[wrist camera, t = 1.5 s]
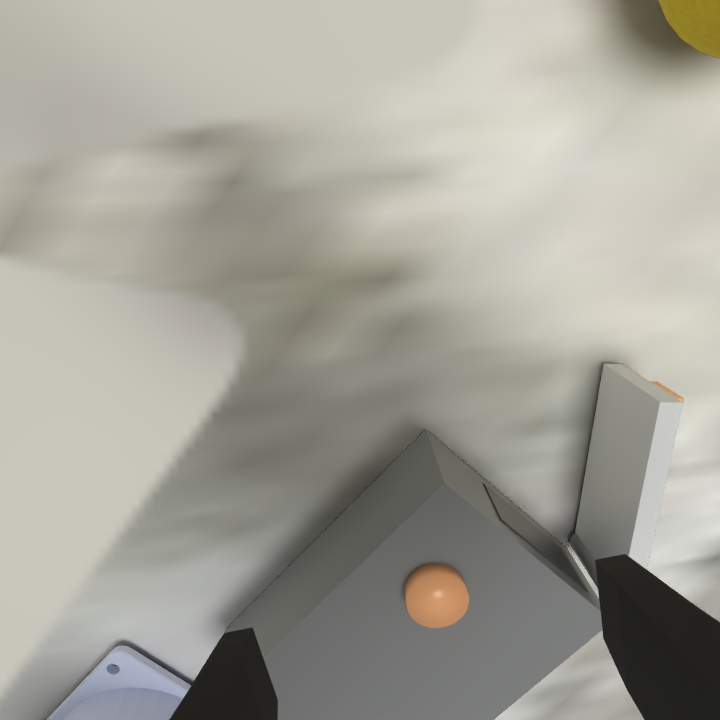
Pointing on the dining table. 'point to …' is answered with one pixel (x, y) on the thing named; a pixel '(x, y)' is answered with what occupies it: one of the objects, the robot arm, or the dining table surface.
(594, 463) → the door
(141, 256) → the dining table surface
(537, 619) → the case
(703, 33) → the lemon
